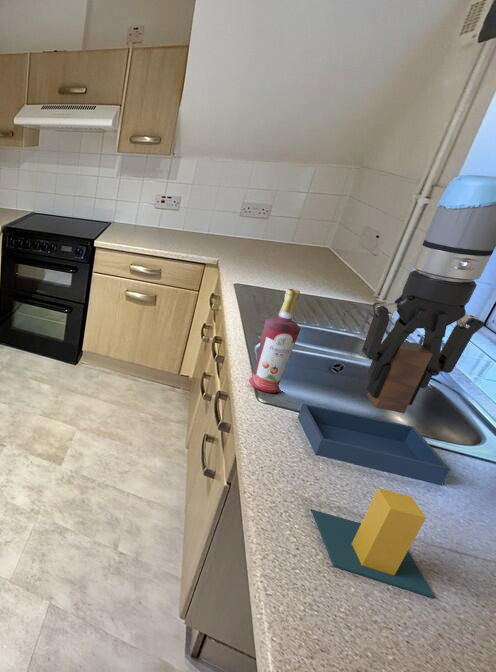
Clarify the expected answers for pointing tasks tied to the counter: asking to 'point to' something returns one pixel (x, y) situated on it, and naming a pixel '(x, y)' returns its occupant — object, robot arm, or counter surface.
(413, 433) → the bin
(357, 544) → the mustard piece
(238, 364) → the counter surface
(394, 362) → the walnut piece
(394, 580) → the mat
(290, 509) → the counter surface
